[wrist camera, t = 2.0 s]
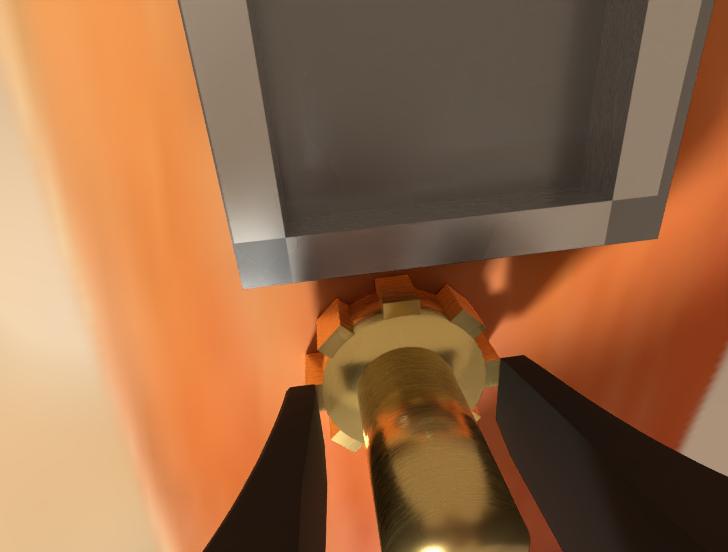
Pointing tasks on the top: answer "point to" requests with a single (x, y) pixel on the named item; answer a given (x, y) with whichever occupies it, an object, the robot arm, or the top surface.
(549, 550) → the top surface
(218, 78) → the carrier
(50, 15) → the top surface
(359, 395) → the planet gear
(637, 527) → the robot arm
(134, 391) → the top surface
